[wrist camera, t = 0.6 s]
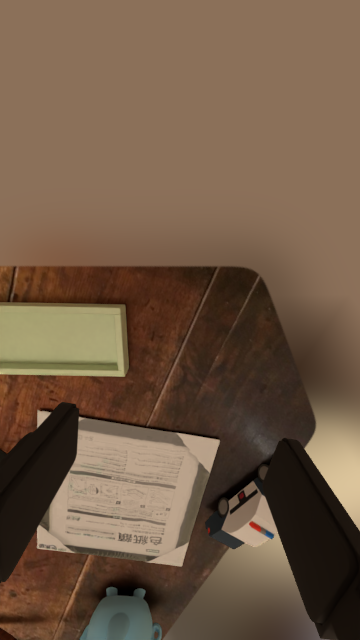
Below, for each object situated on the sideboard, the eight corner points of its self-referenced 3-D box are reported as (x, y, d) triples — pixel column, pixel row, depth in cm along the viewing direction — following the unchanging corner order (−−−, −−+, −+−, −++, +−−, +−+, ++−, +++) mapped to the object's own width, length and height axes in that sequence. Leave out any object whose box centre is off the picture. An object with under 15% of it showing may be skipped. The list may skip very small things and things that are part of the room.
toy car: (297, 467, 30) (321, 506, 25) (225, 524, 32) (235, 569, 28) (276, 451, 29) (297, 488, 24) (203, 512, 31) (209, 556, 27)
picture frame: (221, 440, 28) (181, 567, 35) (221, 438, 28) (181, 564, 36) (36, 410, 26) (36, 549, 34) (37, 408, 27) (37, 546, 34)
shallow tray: (-36, 301, 23) (-57, 304, 21) (125, 304, 23) (120, 307, 21) (-18, 365, 25) (-36, 373, 23) (129, 368, 25) (124, 376, 23)
